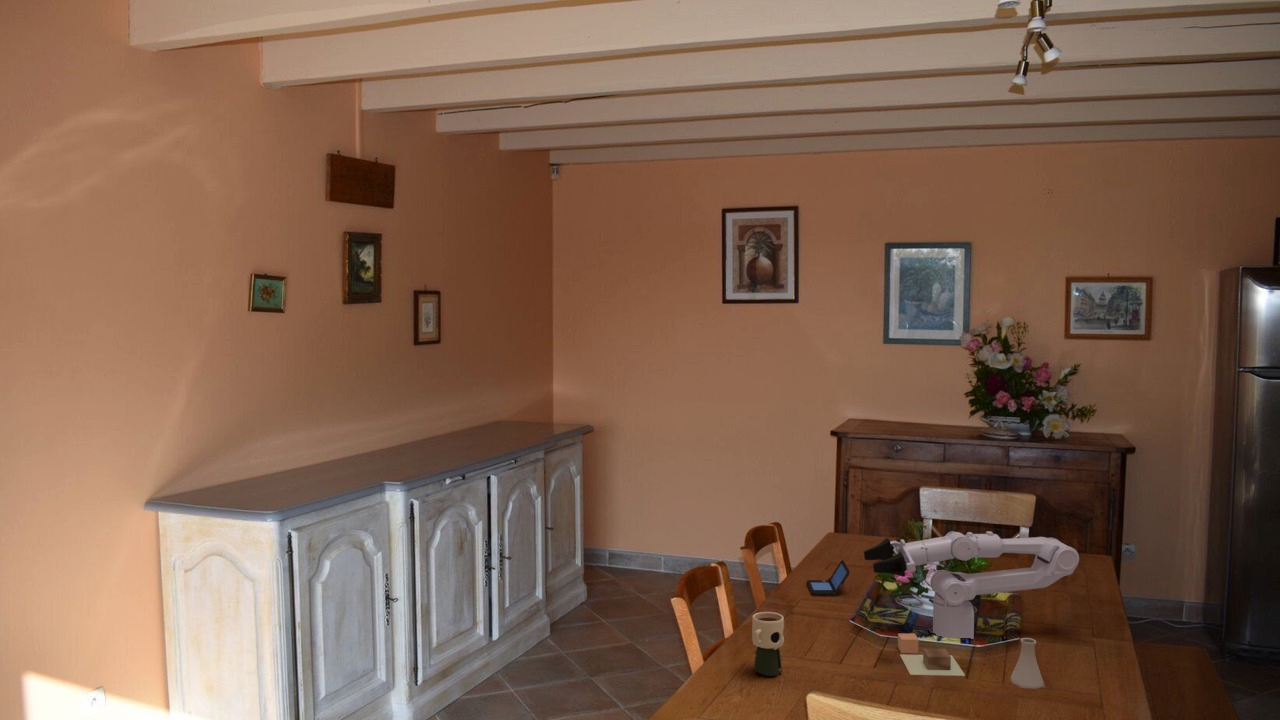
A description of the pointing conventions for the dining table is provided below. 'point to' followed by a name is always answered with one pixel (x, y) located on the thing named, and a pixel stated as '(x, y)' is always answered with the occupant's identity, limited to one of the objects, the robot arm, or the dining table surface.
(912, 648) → the terracotta cube
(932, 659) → the walnut base brick
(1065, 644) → the dining table surface
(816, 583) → the handheld game console
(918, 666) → the plate
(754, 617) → the character mug
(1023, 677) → the flask
